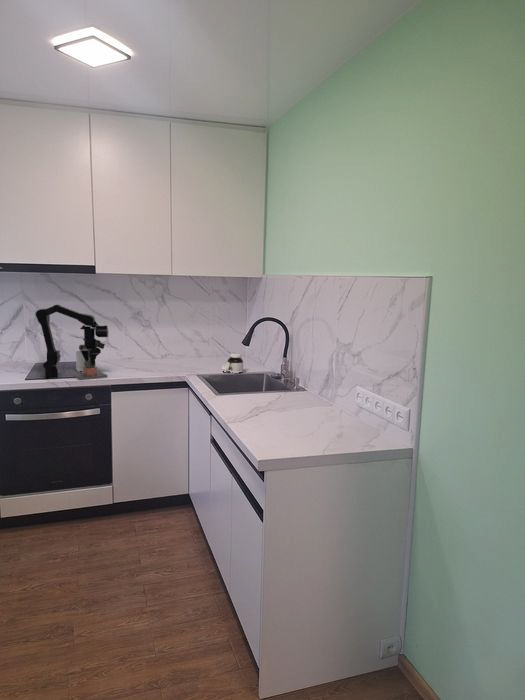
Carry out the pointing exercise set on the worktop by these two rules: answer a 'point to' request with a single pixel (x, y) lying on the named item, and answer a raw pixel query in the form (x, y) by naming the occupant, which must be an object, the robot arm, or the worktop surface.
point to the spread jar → (233, 363)
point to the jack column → (89, 364)
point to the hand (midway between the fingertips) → (89, 363)
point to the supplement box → (80, 361)
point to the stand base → (89, 374)
